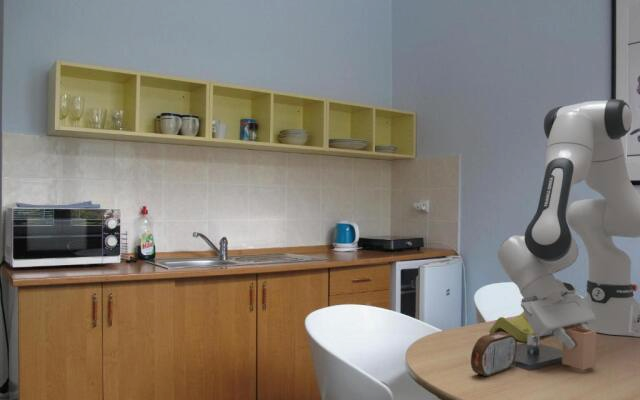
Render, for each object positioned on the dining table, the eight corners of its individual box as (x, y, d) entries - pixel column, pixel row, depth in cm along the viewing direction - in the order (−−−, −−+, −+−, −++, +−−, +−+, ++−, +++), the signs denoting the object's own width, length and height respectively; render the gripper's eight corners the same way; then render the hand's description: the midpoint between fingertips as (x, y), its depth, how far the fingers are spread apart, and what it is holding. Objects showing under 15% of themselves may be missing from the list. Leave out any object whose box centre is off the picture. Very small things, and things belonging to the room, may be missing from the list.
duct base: (531, 346, 143) (532, 326, 143) (574, 358, 133) (575, 337, 133) (485, 356, 133) (486, 334, 133) (529, 370, 123) (529, 347, 123)
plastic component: (528, 335, 145) (496, 313, 151) (516, 357, 148) (486, 334, 154) (560, 319, 158) (530, 299, 165) (549, 339, 161) (520, 319, 168)
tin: (505, 364, 127) (507, 328, 127) (518, 367, 125) (519, 330, 125) (468, 377, 117) (470, 338, 117) (481, 381, 115) (483, 341, 115)
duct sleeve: (574, 360, 129) (575, 326, 128) (595, 366, 124) (596, 331, 124) (562, 363, 126) (563, 328, 126) (582, 369, 122) (584, 334, 122)
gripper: (526, 291, 125) (564, 344, 117) (577, 284, 136) (615, 332, 128) (509, 307, 129) (545, 359, 121) (560, 298, 140) (596, 346, 132)
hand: (581, 345), depth 125 cm, fingers closed on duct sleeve, 5 cm apart
